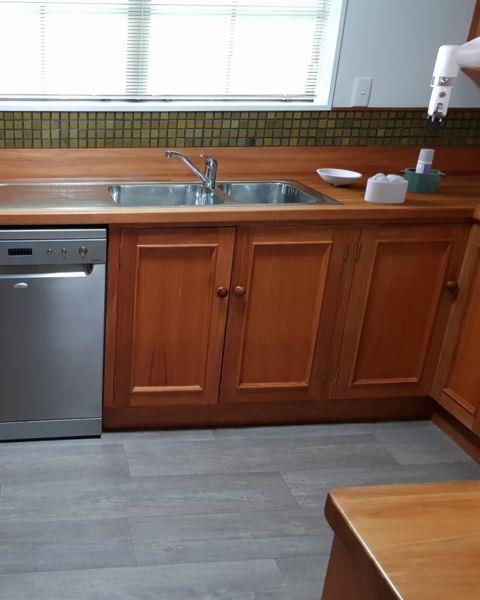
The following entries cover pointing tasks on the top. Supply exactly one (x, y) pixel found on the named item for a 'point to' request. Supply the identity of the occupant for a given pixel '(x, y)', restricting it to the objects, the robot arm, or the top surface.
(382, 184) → the lumpy-topped squat cylinder
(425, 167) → the container
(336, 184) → the dish
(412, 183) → the pot
